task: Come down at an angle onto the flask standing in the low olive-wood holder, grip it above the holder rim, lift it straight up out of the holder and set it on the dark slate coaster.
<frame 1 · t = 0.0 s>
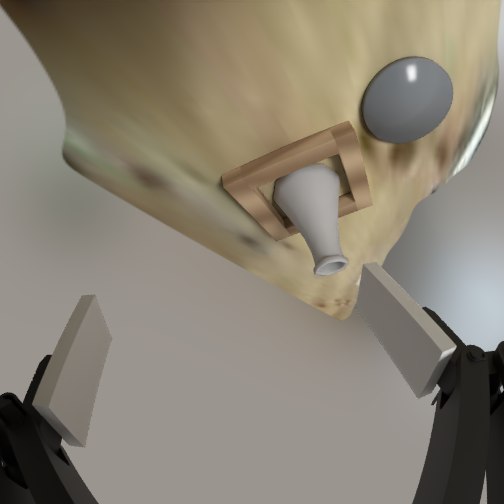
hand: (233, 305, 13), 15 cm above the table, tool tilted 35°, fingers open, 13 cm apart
flask: (304, 183, 31), on the table
coaster: (409, 101, 21), on the table
holder: (305, 185, 31), on the table
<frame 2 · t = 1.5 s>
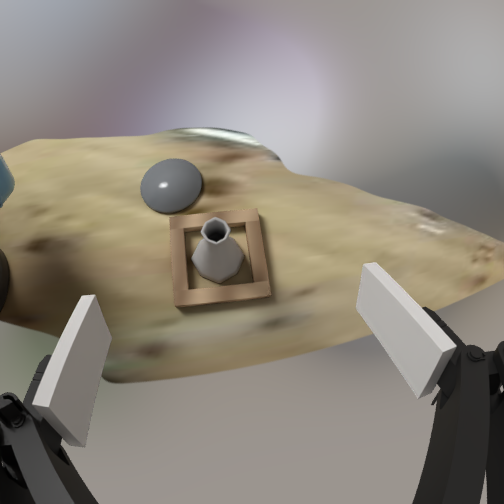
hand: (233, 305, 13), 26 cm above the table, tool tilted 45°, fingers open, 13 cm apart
flask: (217, 258, 42), on the table
coaster: (171, 185, 45), on the table
holder: (217, 257, 42), on the table
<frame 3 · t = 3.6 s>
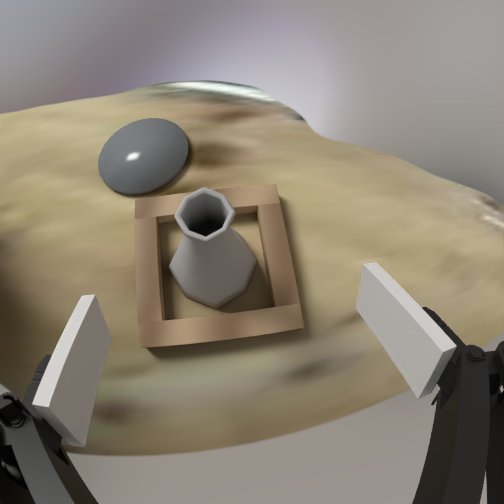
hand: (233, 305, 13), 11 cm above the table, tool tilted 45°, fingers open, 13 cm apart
flask: (212, 265, 25), on the table
coaster: (142, 154, 28), on the table
holder: (212, 264, 25), on the table
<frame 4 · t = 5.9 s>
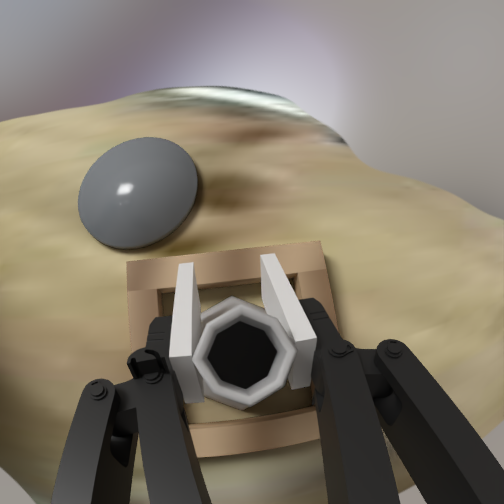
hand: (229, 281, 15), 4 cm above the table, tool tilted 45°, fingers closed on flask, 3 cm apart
flask: (236, 353, 18), on the table, touching gripper
coaster: (135, 189, 21), on the table
holder: (236, 353, 18), on the table
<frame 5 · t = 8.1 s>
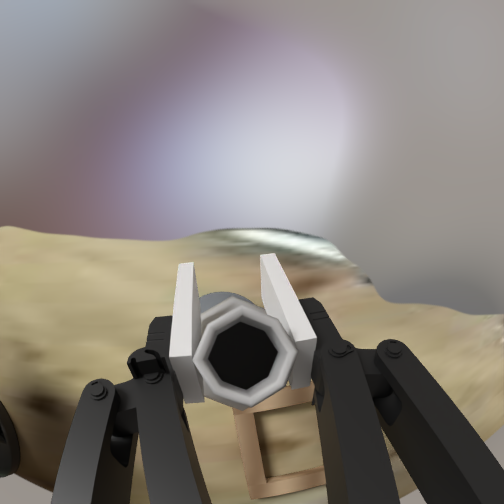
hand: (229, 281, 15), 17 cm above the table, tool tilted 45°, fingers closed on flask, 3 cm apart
flask: (236, 353, 18), point 12 cm above the table, touching gripper
coaster: (222, 337, 31), on the table
holder: (298, 438, 27), on the table
when the fingers open (6 cm above the table, at t = 10.6 s): flask drops 1 cm, resting on coaster.
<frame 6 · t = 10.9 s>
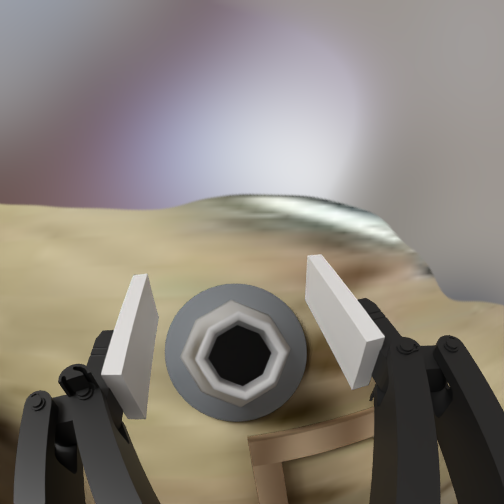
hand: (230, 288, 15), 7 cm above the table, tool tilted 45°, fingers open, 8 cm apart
flask: (235, 353, 20), resting on coaster
coaster: (235, 353, 20), on the table
holder: (339, 485, 17), on the table
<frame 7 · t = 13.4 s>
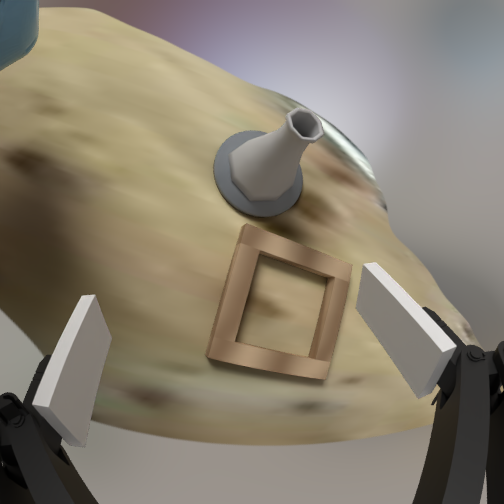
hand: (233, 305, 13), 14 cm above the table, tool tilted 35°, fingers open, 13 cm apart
flask: (259, 171, 30), resting on coaster
coaster: (259, 172, 31), on the table
holder: (282, 307, 30), on the table
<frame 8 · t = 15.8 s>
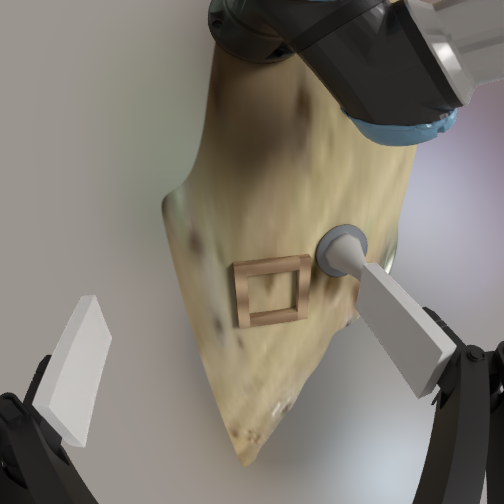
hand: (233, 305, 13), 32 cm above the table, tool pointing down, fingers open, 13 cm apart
flask: (342, 251, 50), resting on coaster
coaster: (342, 250, 51), on the table
holder: (272, 290, 52), on the table
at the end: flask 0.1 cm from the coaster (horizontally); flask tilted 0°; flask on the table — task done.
